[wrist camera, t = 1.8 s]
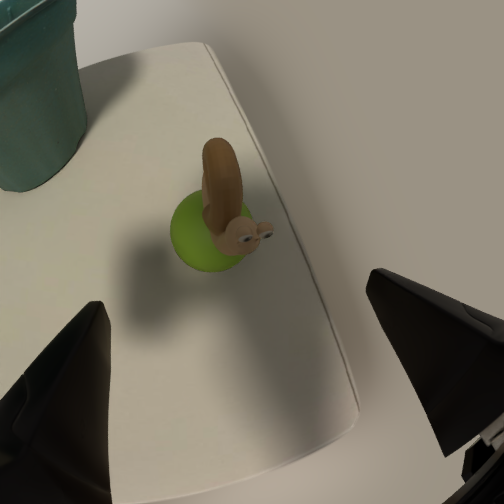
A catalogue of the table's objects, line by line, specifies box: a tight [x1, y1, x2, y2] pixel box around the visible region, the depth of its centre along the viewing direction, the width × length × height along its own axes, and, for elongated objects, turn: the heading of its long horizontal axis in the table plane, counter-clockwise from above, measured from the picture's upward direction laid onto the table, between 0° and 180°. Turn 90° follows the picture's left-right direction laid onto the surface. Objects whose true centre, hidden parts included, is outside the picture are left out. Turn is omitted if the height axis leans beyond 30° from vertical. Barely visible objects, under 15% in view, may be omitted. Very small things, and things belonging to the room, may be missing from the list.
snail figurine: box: [170, 138, 274, 272], centre depth 14 cm, size 5×6×12 cm
